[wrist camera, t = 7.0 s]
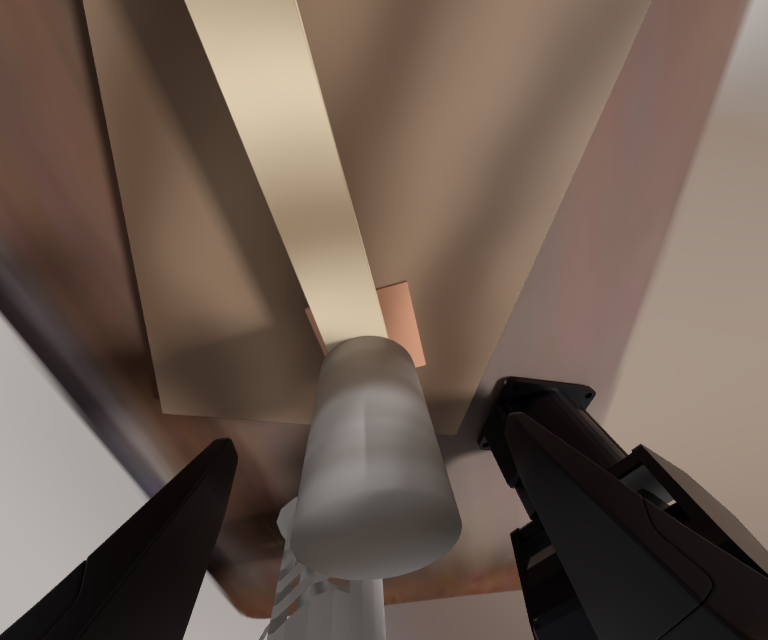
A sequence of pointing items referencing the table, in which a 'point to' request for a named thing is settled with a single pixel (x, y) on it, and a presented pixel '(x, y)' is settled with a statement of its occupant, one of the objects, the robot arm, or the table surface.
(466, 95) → the board
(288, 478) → the table surface
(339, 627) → the french press
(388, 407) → the grey-ended beige bar
